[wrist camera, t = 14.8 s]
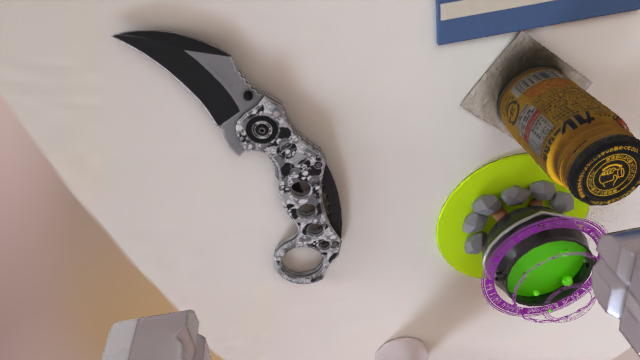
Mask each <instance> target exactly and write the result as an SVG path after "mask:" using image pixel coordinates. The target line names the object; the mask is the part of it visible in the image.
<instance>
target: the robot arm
mask: <svg viewBox="0 0 640 360" xmlns="http://www.w3.org/2000/svg"><path fill="white" fill-rule="evenodd" d="M596 250H597V252H598V253H599V254H600V255H601V256H602V257H601V258H600V259H599V260H598V262H597V263H596V264H595V265H594V266H593V269H592V276H591V281H592V286H593V291H594V294H595V296H596V298H597V300H598V302H599V304H600V305H601V306H602V308H603V309H604V311H605V312H606V313H608V314H610V315H612V316H614V317H616V318H618V319H620V326H619V331H620V332H621V333H622V335H623V336H624V337H625V338H626V340H627V341H628V342H629V344H630V345H631V346H632V348H633V349H634V350H635V351H636V353H637V354H638V356H639V357H640V227H638V228H633V229H628V230H622V231H617V232H612V233H607V234H602V236H601V237H600V238H599V240H598V243H597V248H596ZM198 329H199V321H198V319H197V316H196V314H195V312H194V311H192V310H186V311H180V312H174V313H168V314H161V315H155V316H149V317H142V318H140V319H133V320H126V321H120V322H116V323H115V324H114V325H113V326H112V328H111V329H110V332H109V336H108V339H107V342H106V346H105V349H104V353H103V356H102V359H101V360H211V355H210V351H209V347H208V344H207V341H206V339H205V337H203V336H202V335H200V334H198Z"/></svg>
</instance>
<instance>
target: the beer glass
mask: <svg viewBox="0 0 640 360" xmlns="http://www.w3.org/2000/svg"><path fill="white" fill-rule="evenodd" d="M375 360H428V352H427V348H426V346H425V345H424V343H422V342H421V341H420V340H417V339H414V338H407V337H406V338H398V339H394V340H391V341H389V342H387V343H386V344H384V345H383V346H382V347H381V348H380V349H379V350H378V351H377V353H376V356H375Z"/></svg>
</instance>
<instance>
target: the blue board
mask: <svg viewBox="0 0 640 360" xmlns="http://www.w3.org/2000/svg"><path fill="white" fill-rule="evenodd" d="M638 9H640V0H436V11H437V44H438V45H442V44H448V43H454V42H459V41H465V40H470V39H476V38H482V37H487V36H493V35H498V34H504V33H509V32H515V31H521V30H526V29H532V28H537V27H543V26H548V25H554V24H560V23H565V22H571V21H576V20H582V19H588V18H593V17H599V16H604V15H610V14H615V13H621V12H627V11H632V10H638Z"/></svg>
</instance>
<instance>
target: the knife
mask: <svg viewBox="0 0 640 360" xmlns="http://www.w3.org/2000/svg"><path fill="white" fill-rule="evenodd" d="M112 37H114V38H116V39H118V40H119V41H121V42H123V43H125V44H126V45H128V46H130V47H132V48H133V49H135V50H137V51H139V52H140V53H142V54H144V55H145V56H147V57H148V58H150V59H151V60H152V61H154V62H155V63H157V64H158V65H159V66H161V67H162V68H164V69H165V70H167V71H168V72H169V73H170V74H171V75H172V76H173V77H174V78H175V79H176V80H177V81H178V82H180V83H181V84H182V85H183V86H184V87H185V88H186V89H187V90H188V91H189V92H190V93H191V94H192V95H194V96H195V97H196V98H197V99H198V100H199V101H200V102H201V104H202V105H203V107H204V108H205V109H206V111H207V112H208V114H209V115H210V117H211V118H212V119H213V121H214V122H215V124H216V125H217V126H219V127H221V128H222V129H223V130H224V137H225V139H226V141H227V142H228V144H229V146H230V148H231V149H232V150H233V151H234V153H235V154H237V155H239V156H240V155H241V154H242V153H243V152H244V151H245V150H246V151H251V150H253V151H261V152H264V153H266V154H268V156H270V159H272V162H273V163H274V166H275V169H276V171H275V172H276V174H275V175H276V177H277V178H278V180H279V193H280V197H281V201H282V204H283V206H284V208H285V210H286V211H287V213H288V214H289V216H290V217H291V218H292V219H293V221H294V222H295V223H296V225H297V227H298V231H297V233H296V234H295V235H294V236H292V237H290V238H288V239H286V240H284V241H283V242H281V243H280V244H279V245H278V246H277V248H276V249H275V252H274V266H275V268H276V271H277V272H278V273H279V274H280V276H281V277H283V278H284V279H286V280H288V281H290V282H293V283H298V284H309V283H314V282H317V281H320V280H322V279H323V277H324V274H325V272H326V269H327V268H328V266H329V264H330V263H331V262H332V260H334V259H335V258H336V257H337V256H338V255H339V251H340V247H341V243H342V240H341V231H342V217H341V207H340V201H339V196H338V192H337V188H336V185H335V182H334V179H333V177H332V174H331V172H330V170H329V168H328V166H327V165H326V161H325V156H324V154H323V152H322V151H321V149H320V148H319V147H317V146H316V145H314V144H312V143H311V142H310V141H308V140H306V138H305V137H303V136H302V135H300V133H299V132H298V131H297V130H296V128H295V127H294V126H293V125H292V124H291V122H290V120H289V118H288V115H287V114H286V112H285V108H284V105H283V103H282V102H281V101H279V100H277V99H275V98H274V97H272V96H270V95H269V94H267V93H264V94H262V93H257V90H256V89H254V88H252V87H251V84H250V83H247V82H246V79H245V78H244V77H242V76H241V72H240V71H237V70H236V65H235V63H234V61H233V59H232V57H231V55H230V54H229V53H227V52H225V51H223V50H221V49H219V48H217V47H215V46H213V45H211V44H209V43H206V42H204V41H201V40H199V39H196V38H193V37H189V36H186V35H183V34H178V33H174V32H169V31H158V30H136V31H129V32H122V33H119V34H115V35H112ZM300 181H303V182H307V183H309V185H310V188H309V190H307V191H305V192H303V190H302V188H301V186H300V184H299V182H300ZM322 184H324V185H325V186H324V187H323V188H322ZM322 190H323V193H325V194H328V195H327V196H326V201H327V202H330V204H329V205H328V206H327V209H328V211H329V212H331V213H330V214H329V215H327V213H326V210H325V207H324V204H323V200H322ZM303 204H312V205H314V206H315V209H314V210H312V211H311V212H302V211H300V210H299V209H298V208H299V207H300V206H301V205H303ZM331 221H332V222H331ZM312 224H320V225H322V227H321V228H319V229H317V230H313V229H310V228H309V226H310V225H312ZM321 241H328V242H326V243H321ZM297 247H309V248H313V249H315V250H317V251H319V252H320V253H321V255H322V256H323V261H322V263H321V264H320V265H319V266H318V267H317V268H316V269H314V270H311V271H308V272H294V271H291V270H289V269H287V268H286V267H285V266H284V265H283V263H282V261H281V260H282V257H283V255H284V254H285V253H286V252H288V251H289V250H291V249H293V248H297Z"/></svg>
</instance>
